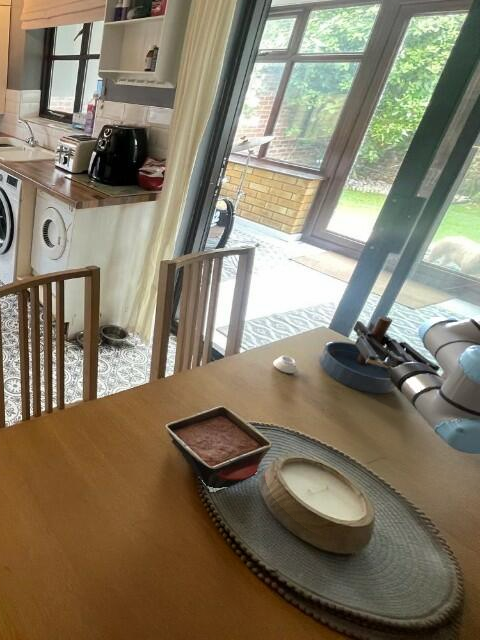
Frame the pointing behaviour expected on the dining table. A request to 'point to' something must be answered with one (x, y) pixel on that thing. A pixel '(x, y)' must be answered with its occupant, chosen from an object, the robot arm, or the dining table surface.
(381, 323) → the stirring stick
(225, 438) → the baking dish
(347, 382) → the bowl
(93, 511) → the dining table surface
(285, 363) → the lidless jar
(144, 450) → the dining table surface
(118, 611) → the dining table surface
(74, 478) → the dining table surface
